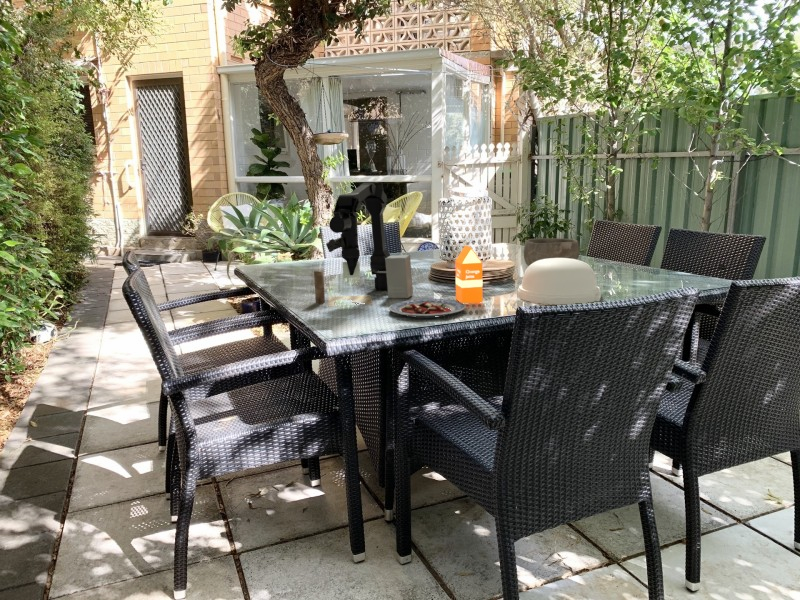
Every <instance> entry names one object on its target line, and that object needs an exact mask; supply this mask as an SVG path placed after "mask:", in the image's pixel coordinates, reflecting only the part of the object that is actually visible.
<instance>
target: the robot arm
mask: <svg viewBox="0 0 800 600" xmlns="http://www.w3.org/2000/svg"><path fill="white" fill-rule="evenodd" d="M361 202H364V204H365V209H366V211H367V213H369V215H370V220H371V221H370V222H371V231H372V232H371V233H372V241H373V242H372V243H373V244H372V245H373V252H372V254H371V255H370V257H369V259H370V260H369V261H370V263H369V267H370V272H371V275H375V277H374V289H375V290H376V291H388V287H387V274H386V262H385V258H387V257H389V256H391V254H390V253H389V251H388V250H387V248H386V247H387V246H386V237H385V236H386V235H385V226H384V222H385V221H384V212H385V210H386V207H387V202H388V197H387V194H386V193H385V190H383V189H382V188H380V187H378V186H376V185H375V183H373V182H363V183H361V184H360V185H359V186H358V187H357V188H355V189H354V190H352V191H351V192H349V193H343V194H340V195H338V196H337V199H336V202H335V205H334V209H333V212H332V213H333V217H331V218H330V220H329V223H328V226H329V228H330V231H331V232H333V233H335V234H340V237H337V238H335V239H334V238H332V239H329V240H328V242H326V244H325V245H326V247H327V250H328V252H329V253H331V252H333V251H335V250H337V249H341V258H342V259H343V260H344V261H345V262H347V265H348V269H349V273H350V275H353V274H354V271H355V268H356V265H357V262H358V261H359V259H360V257H361V255H360V246H359V231H358V217H359V213H358V212H359V209H360V208H361Z"/></svg>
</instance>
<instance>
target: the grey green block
mask: <svg viewBox="0 0 800 600" xmlns="http://www.w3.org/2000/svg"><path fill="white" fill-rule="evenodd" d="M342 278H343V279H358V278H361V265H360V260H358V262H357V265H356V268H355V271H354V274H353V275H350V273H349V269H348V265H347V261H342Z"/></svg>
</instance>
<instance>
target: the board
mask: <svg viewBox="0 0 800 600" xmlns="http://www.w3.org/2000/svg"><path fill="white" fill-rule="evenodd" d="M342 298H343V299H345V298H346V299H347V300H350V299H351V300H352V301H354V302H352V303H355V304H356V303H357V302H356V301H358V302H361V303H365V305H364V306H372V305H373V300H372V296H371V294H369V295H368V294H365V295H346V296H344V295H343V296H329V297H328V301H327V307H328V308H329V307H330V308H332V306H334V302H335V301H336V300H337V301H338V300H341V299H342ZM337 301H336V302H337ZM357 304H359V303H357ZM357 304H356V305H357ZM335 305H336V303H335ZM338 305H339V304H338ZM357 306H358V305H357Z"/></svg>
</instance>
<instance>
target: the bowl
mask: <svg viewBox="0 0 800 600" xmlns="http://www.w3.org/2000/svg"><path fill="white" fill-rule="evenodd" d="M579 246H580V245H579V241H578V240H577V239H573V238H572V239H571V238H557V237H556V238H555V237H554V238H552V237H550V238H549V237H548V238H547V237H546V238H545V237H543V238H542V237H541V238H530V239H529V238H528V239H527V240H526V241H525V243H524V248H523V259H524V262H525V264H526V266H527V267H528V266H529V265H531V264H532V263H534V262H536V261H538V260H542V259H548V258H570V259H576V260H579V258H580V257H579V256H580V247H579Z"/></svg>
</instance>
